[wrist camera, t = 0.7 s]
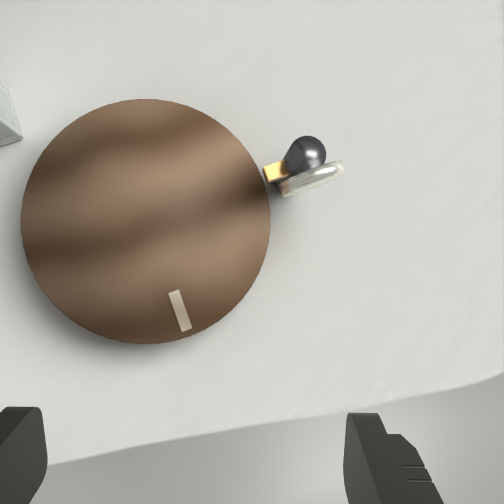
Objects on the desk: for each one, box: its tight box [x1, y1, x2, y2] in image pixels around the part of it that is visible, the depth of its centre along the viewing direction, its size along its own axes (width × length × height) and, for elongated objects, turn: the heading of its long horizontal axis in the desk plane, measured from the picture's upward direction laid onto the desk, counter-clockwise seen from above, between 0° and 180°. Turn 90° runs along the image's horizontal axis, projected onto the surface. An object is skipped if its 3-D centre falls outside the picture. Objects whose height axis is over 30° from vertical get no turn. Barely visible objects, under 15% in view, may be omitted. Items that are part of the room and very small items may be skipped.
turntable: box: [21, 99, 270, 344], centre depth 33 cm, size 18×18×2 cm
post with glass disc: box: [263, 136, 346, 197], centre depth 31 cm, size 5×3×9 cm, turn 110°
